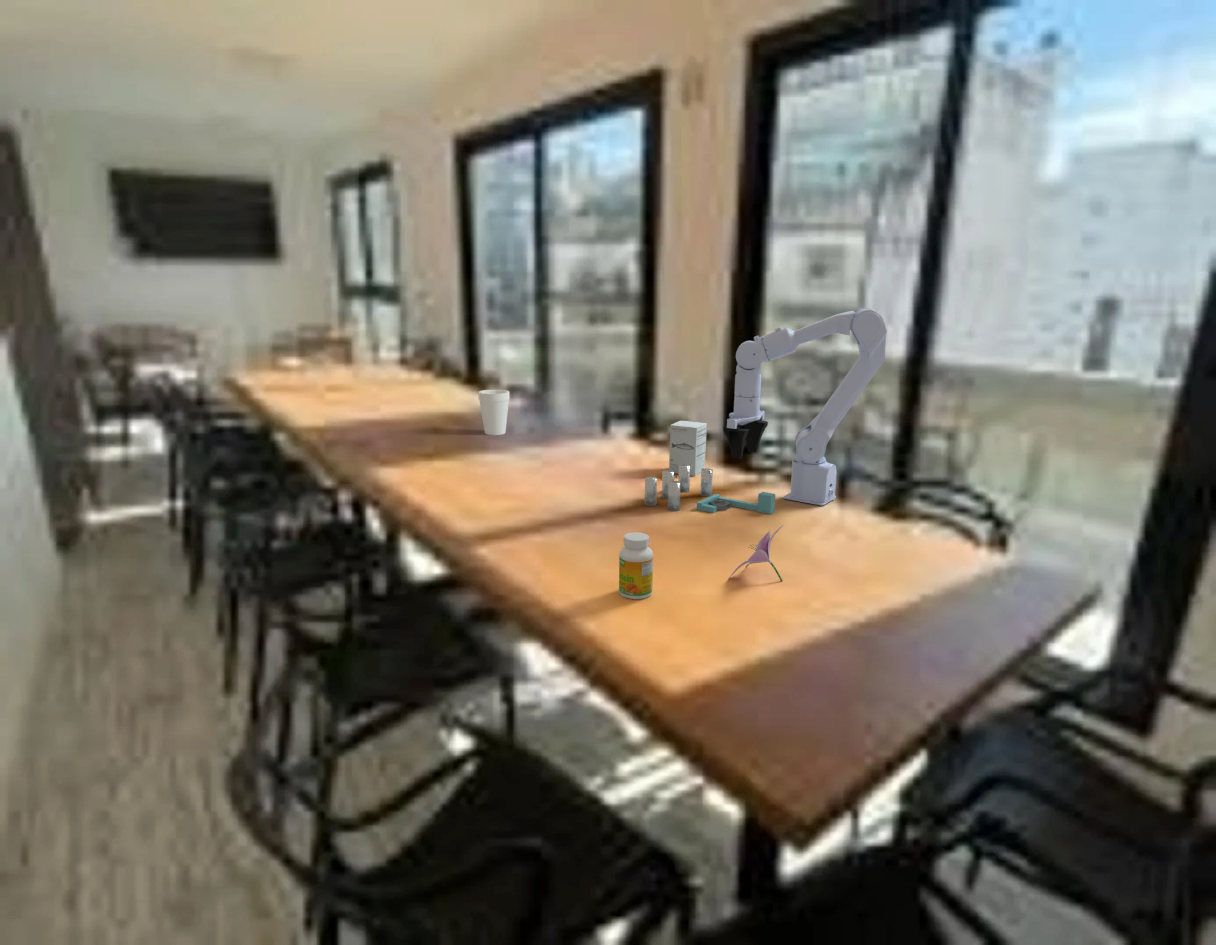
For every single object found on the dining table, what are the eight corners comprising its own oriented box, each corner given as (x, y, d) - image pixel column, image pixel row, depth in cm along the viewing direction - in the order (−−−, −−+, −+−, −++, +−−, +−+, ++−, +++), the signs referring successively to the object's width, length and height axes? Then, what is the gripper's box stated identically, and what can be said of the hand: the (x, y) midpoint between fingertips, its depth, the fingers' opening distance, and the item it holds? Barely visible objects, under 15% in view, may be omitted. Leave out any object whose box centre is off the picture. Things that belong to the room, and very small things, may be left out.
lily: (777, 567, 143) (753, 520, 143) (821, 563, 133) (795, 512, 132) (730, 601, 138) (705, 553, 137) (773, 599, 127) (745, 546, 127)
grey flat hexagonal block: (732, 508, 175) (732, 501, 175) (722, 513, 172) (722, 506, 171) (716, 504, 178) (716, 498, 177) (706, 509, 174) (706, 503, 174)
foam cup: (474, 434, 248) (473, 393, 244) (487, 429, 256) (486, 388, 253) (503, 436, 245) (501, 394, 242) (515, 431, 254) (514, 390, 250)
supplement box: (667, 473, 203) (669, 424, 200) (679, 467, 209) (680, 419, 206) (695, 477, 200) (696, 427, 197) (705, 470, 206) (707, 422, 203)
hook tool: (774, 511, 172) (775, 494, 171) (756, 521, 165) (757, 503, 164) (716, 500, 180) (716, 483, 179) (696, 509, 173) (697, 491, 172)
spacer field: (713, 494, 184) (714, 469, 183) (675, 511, 172) (676, 484, 170) (681, 488, 189) (682, 463, 188) (642, 504, 176) (642, 478, 175)
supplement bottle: (611, 593, 129) (612, 536, 127) (634, 584, 133) (635, 528, 130) (636, 602, 125) (637, 544, 123) (659, 593, 129) (660, 536, 127)
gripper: (746, 390, 187) (743, 446, 190) (715, 397, 175) (713, 458, 179) (774, 392, 183) (770, 450, 186) (744, 401, 171) (741, 462, 175)
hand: (744, 454), depth 182 cm, fingers open, 7 cm apart
